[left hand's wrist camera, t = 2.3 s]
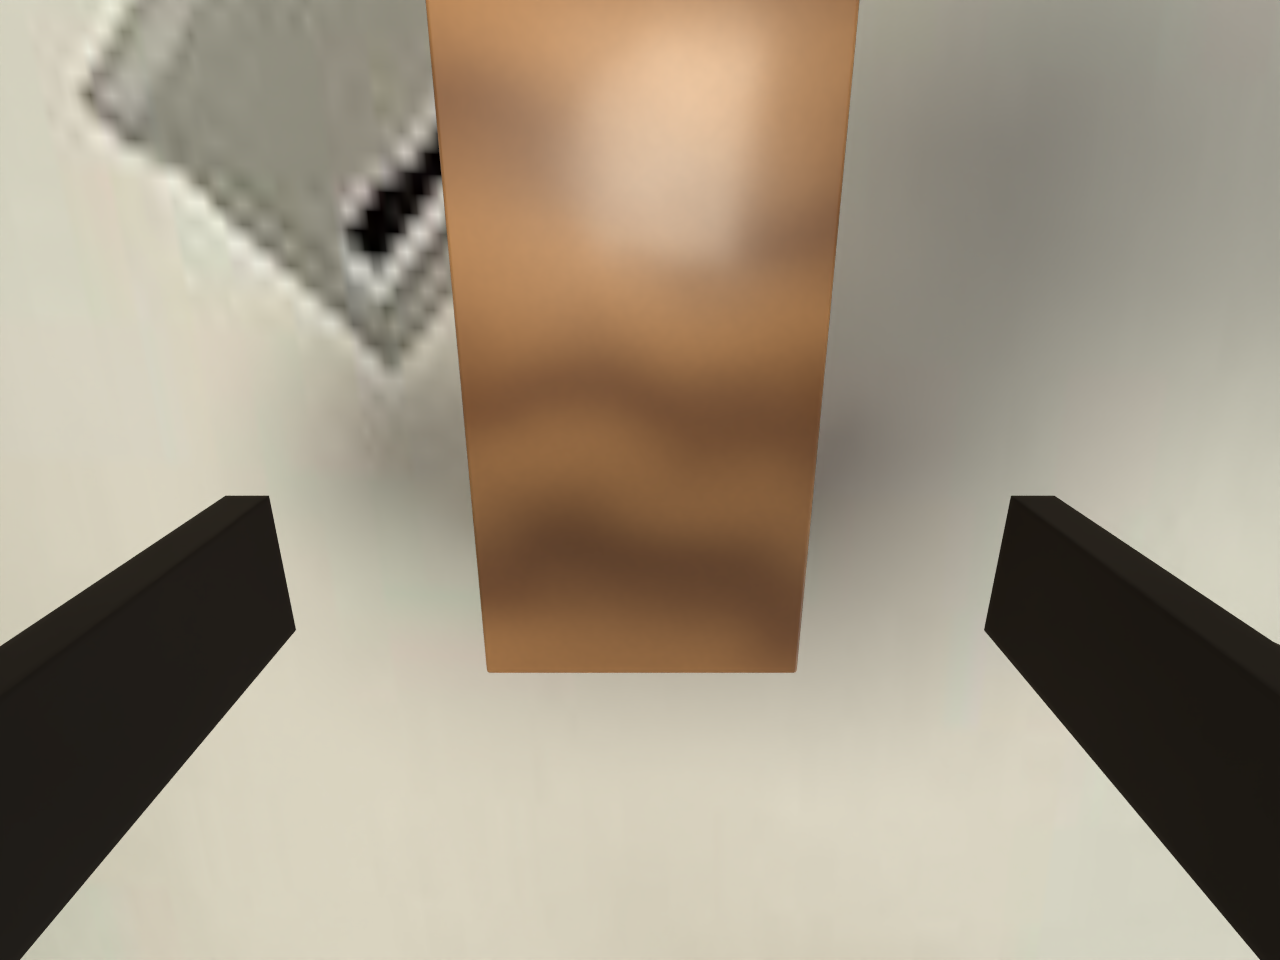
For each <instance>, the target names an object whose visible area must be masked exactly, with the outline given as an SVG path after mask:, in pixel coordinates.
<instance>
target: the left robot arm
mask: <svg viewBox="0 0 1280 960" xmlns="http://www.w3.org/2000/svg"><path fill="white" fill-rule="evenodd" d="M295 630H296V628H295V623H294V618H293V613H292V608H291V603H290V598H289V593H288V588H287V583H286V578H285V573H284V569H283V564H282V559H281V554H280V549H279V544H278V539H277V534H276V529H275V524H274V519H273V514H272V509H271V504H270V499H269V496H225V497H223V498H222V499H220V500H219V501H217V502H216V503H214V504H213V505H211V506H210V507H208V508H207V509H205V510H204V511H202V512H201V513H199V514H198V515H196V516H195V517H193V518H192V519H190V520H189V521H187V522H186V523H184V524H183V525H181V526H180V527H178V528H177V529H175V530H174V531H172V532H171V533H169V534H168V535H166V536H165V537H163V538H162V539H160V540H159V541H157V542H156V543H154V544H153V545H151V546H150V547H148V548H147V549H145V550H144V551H142V552H141V553H139V554H138V555H136V556H135V557H133V558H132V559H130V560H129V561H127V562H126V563H124V564H123V565H121V566H120V567H118V568H117V569H115V570H114V571H112V572H111V573H109V574H108V575H106V576H105V577H103V578H102V579H100V580H99V581H97V582H96V583H94V584H93V585H91V586H90V587H88V588H87V589H85V590H84V591H82V592H81V593H79V594H78V595H76V596H75V597H73V598H72V599H70V600H69V601H67V602H66V603H64V604H63V605H61V606H60V607H58V608H57V609H55V610H54V611H52V612H51V613H49V614H48V615H46V616H45V617H43V618H42V619H40V620H39V621H37V622H36V623H34V624H33V625H31V626H30V627H28V628H27V629H25V630H24V631H22V632H21V633H19V634H18V635H16V636H15V637H13V638H12V639H10V640H9V641H7V642H6V643H4V644H3V645H1V646H0V960H20V959H21V958H22V957H23V955H24V954H25V953H26V952H27V951H28V949H29V948H30V947H31V946H32V945H33V943H34V942H35V941H36V940H37V939H38V938H39V936H40V935H41V934H42V933H43V932H44V930H45V929H46V928H47V927H48V926H49V924H50V923H51V922H52V921H53V920H54V918H55V917H56V916H57V915H58V914H59V912H60V911H61V910H62V909H63V908H64V906H65V905H66V904H67V903H68V902H69V900H70V899H71V898H72V897H73V896H74V895H75V893H76V892H77V891H78V890H79V889H80V887H81V886H82V885H83V884H84V883H85V881H86V880H87V879H88V878H89V877H90V875H91V874H92V873H93V872H94V871H95V869H96V868H97V867H98V866H99V865H100V863H101V862H102V861H103V860H104V859H105V857H106V856H107V855H108V854H109V853H110V852H111V850H112V849H113V848H114V847H115V846H116V844H117V843H118V842H119V841H120V840H121V838H122V837H123V836H124V835H125V834H126V832H127V831H128V830H129V829H130V828H131V826H132V825H133V824H134V823H135V822H136V820H137V819H138V818H139V817H140V816H141V814H142V813H143V812H144V811H145V810H146V808H147V807H148V806H149V805H150V804H151V803H152V801H153V800H154V799H155V798H156V797H157V795H158V794H159V793H160V792H161V791H162V789H163V788H164V787H165V786H166V785H167V783H168V782H169V781H170V780H171V779H172V777H173V776H174V775H175V774H176V773H177V771H178V770H179V769H180V768H181V767H182V765H183V764H184V763H185V762H186V761H187V760H188V758H189V757H190V756H191V755H192V754H193V752H194V751H195V750H196V749H197V748H198V746H199V745H200V744H201V743H202V742H203V740H204V739H205V738H206V737H207V736H208V734H209V733H210V732H211V731H212V730H213V728H214V727H215V726H216V725H217V724H218V722H219V721H220V720H221V719H222V718H223V717H224V715H225V714H226V713H227V712H228V711H229V709H230V708H231V707H232V706H233V705H234V703H235V702H236V701H237V700H238V699H239V697H240V696H241V695H242V694H243V693H244V691H245V690H246V689H247V688H248V687H249V685H250V684H251V683H252V682H253V681H254V679H255V678H256V677H257V676H258V675H259V673H260V672H261V671H262V670H263V669H264V668H265V666H266V665H267V664H268V663H269V662H270V660H271V659H272V658H273V657H274V656H275V654H276V653H277V652H278V651H279V650H280V648H281V647H282V646H283V645H284V644H285V642H286V641H287V640H288V639H289V638H290V636H291V635H292V634H293V633H294V632H295ZM984 630H985V632H986V633H987V634H988V635H989V636H990V638H991V639H992V640H993V641H994V642H995V644H996V645H997V646H998V647H999V648H1000V650H1001V651H1002V652H1003V653H1004V654H1005V656H1006V657H1007V658H1008V659H1009V660H1010V662H1011V663H1012V664H1013V665H1014V666H1015V668H1016V669H1017V670H1018V671H1019V672H1020V673H1021V675H1022V676H1023V677H1024V678H1025V679H1026V681H1027V682H1028V683H1029V684H1030V685H1031V687H1032V688H1033V689H1034V690H1035V691H1036V693H1037V694H1038V695H1039V696H1040V697H1041V699H1042V700H1043V701H1044V702H1045V703H1046V705H1047V706H1048V707H1049V708H1050V709H1051V711H1052V712H1053V713H1054V714H1055V715H1056V717H1057V718H1058V719H1059V720H1060V721H1061V722H1062V724H1063V725H1064V726H1065V727H1066V728H1067V730H1068V731H1069V732H1070V733H1071V734H1072V736H1073V737H1074V738H1075V739H1076V740H1077V742H1078V743H1079V744H1080V745H1081V746H1082V748H1083V749H1084V750H1085V751H1086V752H1087V754H1088V755H1089V756H1090V757H1091V758H1092V760H1093V761H1094V762H1095V763H1096V764H1097V765H1098V767H1099V768H1100V769H1101V770H1102V771H1103V773H1104V774H1105V775H1106V776H1107V777H1108V779H1109V780H1110V781H1111V782H1112V783H1113V785H1114V786H1115V787H1116V788H1117V789H1118V791H1119V792H1120V793H1121V794H1122V795H1123V797H1124V798H1125V799H1126V800H1127V801H1128V803H1129V804H1130V805H1131V806H1132V807H1133V808H1134V810H1135V811H1136V812H1137V813H1138V814H1139V816H1140V817H1141V818H1142V819H1143V820H1144V822H1145V823H1146V824H1147V825H1148V826H1149V828H1150V829H1151V830H1152V831H1153V832H1154V834H1155V835H1156V836H1157V837H1158V838H1159V840H1160V841H1161V842H1162V843H1163V844H1164V846H1165V847H1166V848H1167V849H1168V850H1169V852H1170V853H1171V854H1172V855H1173V856H1174V857H1175V859H1176V860H1177V861H1178V862H1179V863H1180V865H1181V866H1182V867H1183V868H1184V869H1185V871H1186V872H1187V873H1188V874H1189V875H1190V877H1191V878H1192V879H1193V880H1194V881H1195V883H1196V884H1197V885H1198V886H1199V887H1200V889H1201V890H1202V891H1203V892H1204V893H1205V895H1206V896H1207V897H1208V898H1209V899H1210V900H1211V902H1212V903H1213V904H1214V905H1215V906H1216V908H1217V909H1218V910H1219V911H1220V912H1221V914H1222V915H1223V916H1224V917H1225V918H1226V920H1227V921H1228V922H1229V923H1230V924H1231V926H1232V927H1233V928H1234V929H1235V930H1236V932H1237V933H1238V934H1239V935H1240V936H1241V938H1242V939H1243V940H1244V941H1245V942H1246V943H1247V945H1248V946H1249V947H1250V948H1251V949H1252V951H1253V952H1254V953H1255V954H1256V955H1257V957H1258V958H1259V959H1260V960H1280V645H1279V644H1277V643H1275V642H1273V641H1271V640H1270V639H1268V638H1267V637H1265V636H1264V635H1262V634H1261V633H1259V632H1258V631H1256V630H1255V629H1253V628H1252V627H1250V626H1249V625H1247V624H1246V623H1244V622H1243V621H1241V620H1240V619H1238V618H1237V617H1235V616H1234V615H1232V614H1231V613H1229V612H1228V611H1226V610H1225V609H1223V608H1222V607H1220V606H1219V605H1217V604H1216V603H1214V602H1213V601H1211V600H1210V599H1208V598H1207V597H1205V596H1204V595H1202V594H1201V593H1199V592H1198V591H1196V590H1195V589H1193V588H1192V587H1190V586H1189V585H1187V584H1186V583H1184V582H1183V581H1181V580H1180V579H1178V578H1177V577H1175V576H1174V575H1172V574H1171V573H1169V572H1168V571H1166V570H1165V569H1163V568H1162V567H1160V566H1159V565H1157V564H1156V563H1154V562H1153V561H1151V560H1150V559H1148V558H1147V557H1145V556H1144V555H1142V554H1141V553H1139V552H1138V551H1136V550H1135V549H1133V548H1132V547H1130V546H1129V545H1127V544H1126V543H1124V542H1123V541H1121V540H1120V539H1118V538H1117V537H1115V536H1114V535H1112V534H1111V533H1109V532H1108V531H1106V530H1105V529H1103V528H1102V527H1100V526H1099V525H1097V524H1096V523H1094V522H1093V521H1091V520H1090V519H1088V518H1087V517H1085V516H1084V515H1082V514H1081V513H1079V512H1078V511H1076V510H1075V509H1073V508H1072V507H1070V506H1069V505H1067V504H1066V503H1064V502H1063V501H1061V500H1060V499H1058V498H1057V497H1055V496H1011V499H1010V504H1009V509H1008V514H1007V519H1006V524H1005V529H1004V534H1003V539H1002V544H1001V549H1000V554H999V559H998V564H997V569H996V573H995V578H994V583H993V588H992V593H991V598H990V603H989V608H988V613H987V618H986V623H985V628H984Z"/></svg>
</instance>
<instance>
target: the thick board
mask: <svg viewBox="0 0 1280 960" xmlns="http://www.w3.org/2000/svg"><path fill="white" fill-rule="evenodd" d="M426 10H427V21H428V32H429V43H430V54H431V65H432V76H433V87H434V98H435V109H436V119H437V130H438V141H439V152H440V163H441V174H442V185H443V196H444V207H445V218H446V229H447V239H448V250H449V261H450V272H451V283H452V294H453V305H454V316H455V327H456V338H457V349H458V360H459V370H460V381H461V392H462V403H463V414H464V425H465V436H466V447H467V458H468V469H469V480H470V490H471V501H472V512H473V523H474V534H475V545H476V556H477V567H478V578H479V589H480V600H481V610H482V621H483V632H484V643H485V654H486V665H487V671H488V672H489V673H794V672H796V670H797V661H798V650H799V640H800V629H801V618H802V608H803V597H804V586H805V576H806V565H807V554H808V544H809V533H810V522H811V512H812V501H813V490H814V480H815V469H816V458H817V448H818V437H819V426H820V416H821V405H822V394H823V384H824V373H825V362H826V352H827V341H828V330H829V320H830V309H831V298H832V288H833V277H834V266H835V256H836V245H837V234H838V224H839V213H840V202H841V192H842V181H843V170H844V160H845V149H846V138H847V128H848V117H849V106H850V96H851V85H852V74H853V64H854V53H855V42H856V32H857V21H858V10H859V0H426Z"/></svg>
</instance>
